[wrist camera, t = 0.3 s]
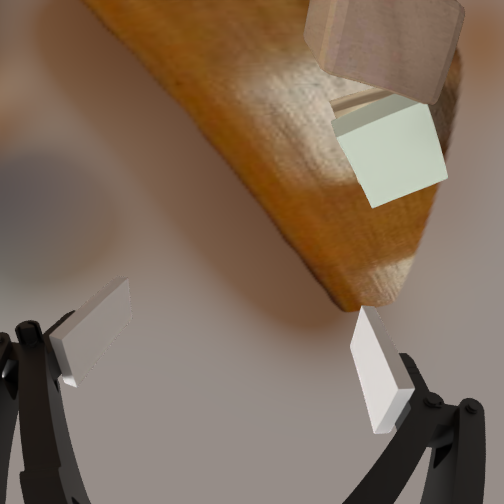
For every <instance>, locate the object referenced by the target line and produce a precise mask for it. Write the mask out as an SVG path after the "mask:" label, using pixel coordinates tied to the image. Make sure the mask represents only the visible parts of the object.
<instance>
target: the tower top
mask: <svg viewBox="0 0 504 504" xmlns="http://www.w3.org/2000/svg"><path fill="white" fill-rule="evenodd" d="M331 124H332V127H333V130H334V133H335V136H336V138H337V140H338V142H339V144H340V146H341V147H342V149H343V151H344V153H345V155H346V157H347V159H348V160H349V162H350V164H351V166H352V168H353V170H354V172H355V174H356V176H357V178H358V180H359V182H360V184H361V186H362V188H363V190H364V192H365V194H366V196H367V198H368V200H369V202H370V205H371V207H372V208H374V207H377V206H379V205H382V204H384V203H387V202H389V201H392V200H394V199H397V198H399V197H402V196H404V195H407V194H410V193H412V192H415V191H417V190H420V189H422V188H425V187H427V186H430V185H432V184H435V183H437V182H440V181H442V180H445V179H447V178H448V176H447V171H446V167H445V163H444V159H443V155H442V151H441V147H440V143H439V140H438V136H437V133H436V129H435V126H434V123H433V120H432V117H431V114H430V111H429V108H428V105H427V104H422V103H419V102H417V101H414V100H411V99H409V98H406V97H403V96H401V95H398V94H392V95H390V96H388V97H385V98H383V99H380V100H378V101H375V102H373V103H371V104H368V105H366V106H364V107H361V108H359V109H357V110H355V111H352V112H350V113H348V114H346V115H343V116H341V117H339V118H337V119H335V120H332V121H331Z"/></svg>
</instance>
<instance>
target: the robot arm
mask: <svg viewBox="0 0 504 504" xmlns="http://www.w3.org/2000/svg"><path fill="white" fill-rule="evenodd" d="M131 319H132V310H131V301H130V290H129V280H128V277H122V276H116V277H115V278H114V279H113V280H111V281H110V282H109V283H108V284H107V285H106V286H105V287H103V288H102V289H101V290H100V291H98V292H97V293H96V294H95V295H94V296H93V297H91V298H90V299H89V300H88V301H87V302H86V303H85V304H83V305H82V306H81V307H80V308H79V309H78V310H77V311H75V310H73V311H71V312H69V313H67V314H65V315H64V316H63V317H62V318H61V319H60V320H58V321H57V322H56V323H55V324H54V325H53V326H51V327H50V328H49V329H48V330H47V331H46V332H45V333H44V334H43V335H42V331H41V328H40V325H39V323H38V322H37V321H32V320H28V321H24V322H22V323H20V324H19V325H17V326H16V328H15V332H16V335H17V338H18V341H19V343H15V342H11V340H10V337H9V335H8V334H7V333H4V332H0V504H5V501H6V489H7V477H8V468H9V460H10V452H11V446H12V440H13V434H14V430H15V425H16V419H17V415H18V411H19V421H20V435H21V444H22V453H23V459H24V467H25V470H24V471H22V472H20V484H21V489H22V493H23V499H24V503H25V504H91V503H90V501H89V498H88V496H87V493H86V490H85V487H84V485H83V481H82V478H81V476H80V472H79V469H78V466H77V462H76V459H75V455H74V452H73V448H72V444H71V440H70V437H69V432H68V428H67V423H66V418H65V414H64V409H63V403H62V397H61V391H60V384H59V381H58V379H57V378H58V377H59V376H60V375H61V374H62V376H63V379H64V382H65V383H67V384H69V385H72V386H74V387H78V386H79V385H80V383H81V382H82V381H83V379H84V378H85V377H86V376H87V374H88V373H89V372H90V370H91V369H92V368H93V367H94V365H95V364H96V363H97V361H98V360H99V359H100V358H101V357H102V355H103V354H104V353H105V351H106V350H107V349H108V348H109V346H110V345H111V344H112V343H113V341H114V340H115V339H116V338H117V337H118V335H119V334H120V333H121V332H122V330H123V329H124V328H125V327H126V326H127V324H128V323H129V322H130V321H131ZM350 348H351V352H352V354H353V358H354V362H355V365H356V369H357V372H358V376H359V379H360V383H361V386H362V390H363V393H364V397H365V401H366V405H367V408H368V412H369V416H370V420H371V424H372V428H373V432H374V434H380V433H390V432H391V430H392V428H393V427H394V425H396V428H397V432H396V434H395V436H394V437H393V439H392V440H391V441H390V443H389V444H388V446H387V448H386V449H385V450H384V452H383V453H382V455H381V456H380V457H379V459H378V460H377V461H376V463H375V464H374V465H373V467H372V468H371V469H370V471H369V472H368V473H367V475H366V476H365V477H364V478H363V480H362V481H361V482H360V484H359V485H358V486H357V487H356V488H355V489H354V491H353V492H352V493H351V494H350V495H349V497H348V498H347V499H346V500H345V501H344V502H343V503H342V504H394V502H395V501H396V499H397V498H398V496H399V494H400V493H401V491H402V489H403V488H404V487H405V485H406V483H407V482H408V480H409V478H410V476H411V475H412V473H413V471H414V470H415V468H416V466H417V464H418V462H419V460H420V459H421V457H422V455H423V453H424V451H425V449H426V447H431V448H432V452H431V457H430V463H429V469H428V473H427V478H426V482H425V487H424V491H423V495H422V499H421V502H420V504H483V496H484V484H485V462H486V443H485V441H486V439H485V416H484V409H483V406H482V405H481V403H479V402H478V401H477V400H475V399H472V398H466V399H463V400H462V401H461V402H460V404H459V405H458V406H454V405H448V404H445V403H444V401H443V399H442V398H441V397H440V396H439V395H437V394H436V393H433V392H430V391H429V389H428V387H427V386H426V383H425V381H424V379H423V378H422V376H421V374H420V372H419V370H418V368H417V366H416V364H415V362H414V360H413V359H412V358H411V357H410V356H409V355H407V354H406V353H398V351H397V349H396V347H395V345H394V343H393V341H392V339H391V337H390V335H389V333H388V332H387V330H386V328H385V326H384V324H383V322H382V320H381V318H380V316H379V314H378V313H377V311H376V309H375V307H374V306H361V310H360V314H359V318H358V321H357V325H356V328H355V331H354V335H353V338H352V342H351V345H350Z"/></svg>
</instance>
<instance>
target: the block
mask: <svg viewBox="0 0 504 504" xmlns="http://www.w3.org/2000/svg"><path fill="white" fill-rule="evenodd" d="M464 16H465V11H464V7H462V6H461V5H460V4H459V3H458V2H457V1H456V0H310V3H309V8H308V14H307V19H306V24H305V30H304V39H305V42H306V43H307V45H308V47H309V48H310V50H311V52H312V54H313V55H314V57H315V59H316V61H317V62H318V64H319V66H320V68H321V69H322V70H324V71H325V72H327V73H328V74H330V75H334V76H338V77H342V78H346V79H349V80H353V81H357V82H360V83H364V84H367V85H370V86H374V87H377V88H380V89H383V90H386V91H389V92H392V93H395V94H398V95H401V96H403V97H406V98H409V99H411V100H414V101H417V102H419V103H422V104H430V105H434V104H435V103H436V102H437V101H438V99H439V96H440V93H441V91H442V88H443V85H444V82H445V79H446V77H447V74H448V71H449V68H450V65H451V62H452V59H453V55H454V52H455V49H456V46H457V42H458V39H459V35H460V32H461V28H462V24H463V21H464Z"/></svg>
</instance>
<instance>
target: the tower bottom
mask: <svg viewBox="0 0 504 504" xmlns="http://www.w3.org/2000/svg"><path fill="white" fill-rule="evenodd" d="M392 94H395V93H392V92H389V91H386V90H383V89H380V88H377V87H376V88H372V89H368V90H365V91H361V92H358V93H354V94H351V95H348V96H344V97H341V98H338V99H334V100H331V101H329V102H330V104H331V107H332V109H333V112H334V114H335V117H336V119H337V118H339V117H341V116H343V115H346V114H348V113H350V112H352V111H355V110H357V109H359V108H361V107H364V106H366V105H368V104H371V103H373V102H375V101H378V100H380V99H383V98H385V97H388V96H390V95H392ZM357 179H358V178H357ZM358 182H359V180H358ZM359 183H360V182H359Z"/></svg>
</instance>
